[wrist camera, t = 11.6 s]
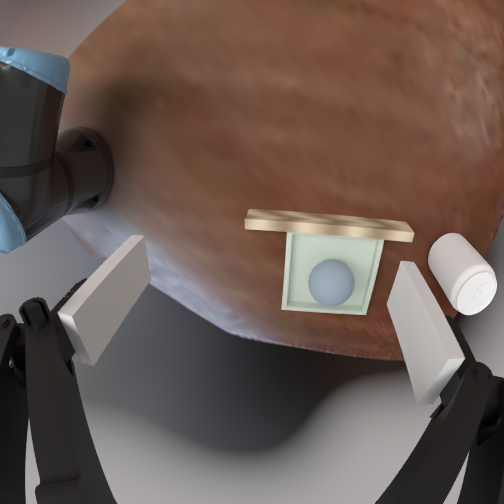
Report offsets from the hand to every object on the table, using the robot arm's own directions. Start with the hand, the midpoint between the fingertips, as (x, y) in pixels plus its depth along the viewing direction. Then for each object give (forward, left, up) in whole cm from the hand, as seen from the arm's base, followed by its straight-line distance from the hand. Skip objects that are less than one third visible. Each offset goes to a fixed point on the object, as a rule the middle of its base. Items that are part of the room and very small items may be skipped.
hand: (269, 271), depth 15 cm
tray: (+7, -17, -29) cm, 34 cm away
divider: (+6, -8, -29) cm, 31 cm away
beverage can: (+28, -12, -29) cm, 42 cm away
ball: (+7, -17, -29) cm, 34 cm away
